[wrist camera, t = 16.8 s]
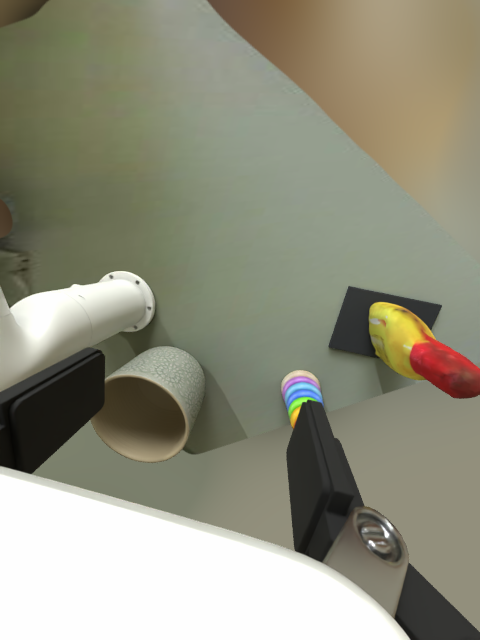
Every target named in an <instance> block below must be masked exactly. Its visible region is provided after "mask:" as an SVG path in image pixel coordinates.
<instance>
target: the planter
mask: <svg viewBox="0 0 480 640" xmlns="http://www.w3.org/2000/svg"><path fill="white" fill-rule="evenodd" d="M205 390H206V381H205V376H204V372H203V370H202V368H201V366H200V365H199V363H198V362H197V361H196V359H195V358H194V357H193V356H191V355H190V354H189V353H187V352H185V351H184V350H181V349H179V348H175V347H170V346H160V347H155V348H151V349H149V350H147V351H145V352H143V353H141V354H139V355H138V356H136V357H135V358H134V359H132V360H131V361H130V362H128V363H127V364H125V365H124V366H122V367H121V368H119V369H118V370H116V371H115V372H114V373H112V374H111V375H109V376H108V377H107V378H105V403H104V405H103V407H102V409H101V410H100V411H99V412H98V413H97V414H96V415H95V416H93V417H92V418H91V419H90V420H91V423H92V425H93V428H94V429H95V431H96V433H97V434H98V436H99V437H100V438H101V439H102V441H103V442H104V443H105V444H106V445H107V446H109V447H110V448H111V449H112V450H114V451H115V452H117V453H118V454H120V455H122V456H124V457H126V458H129V459H131V460H135V461H139V462H147V463H156V462H162V461H165V460H168V459H170V458H172V457H174V456H175V455H177V454H178V453H179V452H180V451H181V450H182V449H183V447H184V446H185V444H186V442H187V440H188V438H189V435H190V433H191V431H192V428H193V425H194V423H195V420H196V418H197V415H198V412H199V410H200V407H201V405H202V402H203V399H204V395H205Z"/></svg>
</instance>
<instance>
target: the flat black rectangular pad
mask: <svg viewBox="0 0 480 640" xmlns="http://www.w3.org/2000/svg"><path fill="white" fill-rule="evenodd" d="M377 302H385V303H390V304H395V305H398V306H401V307H404V308H406V309H407V310H409V311H410V312H412V313H413V314H415V315H416V316H417V317H418V318H420V319H421V320H422V321H423V322H424V323H425V324H426V325H427V327H428V328H429V329H430V330H431V328H432V326H433V324H434V321H435V319H436V317H437V315H438V313H439V311H440V309H441V307H442V305H439V304H434V303H429V302H424V301H419V300H414V299H409V298H404V297H399V296H394V295H389V294H384V293H379V292H374V291H369V290H364V289H359V288H354V287H350V286H349V287H348V290H347V293H346V296H345V299H344V302H343V305H342V308H341V311H340V314H339V317H338V320H337V322H336V325H335V328H334V331H333V334H332V337H331V340H330V343H329V347H331V348H335V349H340V350H344V351H349V352H353V353H358V354H363V355H367V356H372V357H376V358H380V357H379V356H377V355H376V354H375V353H376V349H375V348H374V346H373V344H372V341H371V336H370V333H369V310H370V307H371V306H372V305H373V304H374V303H377Z"/></svg>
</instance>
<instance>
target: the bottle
mask: <svg viewBox="0 0 480 640" xmlns="http://www.w3.org/2000/svg"><path fill="white" fill-rule="evenodd" d="M369 333H370V336H371V341H372V344H373V346H374V348H375V349H376V353H375V354H376V355H377V356H379V357H380V358H381V359H382V360H383V361H384V362H385V363H386V364H387V365H388V366H389V367H390V368H391V369H393V370H394V371H395V372H397V373H399V374H400V375H402V376H405V377H408V378H411V379H414V380H428V381H430V382H431V383H432V384H433V385H435V386H436V387H438V388H439V389H441V390H442V391H444V392H445V393H447V394H449V395H450V396H451V397H453V398H459V399H461V398H472V397H476V396H478V395H480V369H479V368H478V367H477V366H476V365H474V364H473V363H472V362H471V361H470V360H468V359H467V358H466V357H464V356H463V355H461V354H460V353H458V352H456V351H454V350H453V349H451V348H450V347H448V346H446V345H444V344H442V343H441V342H439V341H437V340H436V339H435V337H434V336H433V334H432V332H431V331H430V329H429V328H428V327H427V325H426V324H425V323H424V322H423V321H422V320H421V319H420V318H418V317H417V316H416V315H415V314H413V313H412V312H410V311H409V310H407V309H406V308H404V307H401V306H398V305H395V304H390V303H385V302H377V303H374V304H373V305H372V306H371V307H370V310H369Z"/></svg>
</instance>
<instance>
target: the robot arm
mask: <svg viewBox="0 0 480 640" xmlns="http://www.w3.org/2000/svg"><path fill="white" fill-rule="evenodd" d="M139 282H140V283H139ZM154 313H155V300H154V296H153V293H152V291H151V289H150V288H149V286H148V285H147V284H146V283H145V281H144V280H142V279H141V278H140V277H139V276H137V275H135V274H133V273H130V272H125V271H117V272H112V273H109V274H107V275H105V276H104V277H103V278H102V279H101V280H100V281H99V283H95V284H90V285H84V286H81V285H76V284H74V285H72V286H71V288H66V289H61V290H55V291H48V292H43V293H38V294H34V295H31V296H29V297H26V298H24V299H23V300H21V301H19V302H18V303H16V304H15V305H14V306H12V307H11V308H10V309H9V307H8V304H7V302H6V299H5V297H4V295H3V292H2V290H1V287H0V640H480V632H479V631H478V630H477V629H476V628H475V627H474V626H473V625H472V624H471V623H470V622H469V621H468V620H467V619H465V618H464V616H462V614H461V613H460V612H459V611H458V610H457V609H455V608H454V607H453V606H452V605H451V604H450V603H449V602H448V601H447V600H446V599H445V598H444V597H443V596H442V595H441V594H440V593H439V592H438V591H437V590H436V589H435V588H434V587H433V586H432V585H431V584H430V583H429V582H428V581H427V580H426V579H425V578H424V577H423V576H422V575H421V574H420V573H419V572H418V571H417V570H416V569H415V568H414V567H413V566H412V565H411V564H410V563H409V553H408V550H407V546H406V544H405V542H404V540H403V538H402V536H401V534H400V533H399V532H398V530H397V529H396V528H395V526H394V525H393V524H392V523H391V522H390V521H389V520H388V519H387V518H386V517H385V516H383V515H382V514H381V513H379V512H378V511H376V510H374V509H372V508H370V507H365V506H364V504H363V501H362V498H361V495H360V493H359V490H358V488H357V485H356V482H355V480H354V477H353V474H352V472H351V469H350V466H349V464H348V461H347V459H346V456H345V453H344V450H343V448H342V445H341V443H340V441H339V440H338V439H337V438H334V436H333V433H332V430H331V427H330V424H329V422H328V419H327V416H326V413H325V410H324V407H323V405H322V403H321V402H318V401H313V400H309V399H308V400H307V402H302V404H301V408H300V411H299V414H298V417H297V420H296V423H295V426H294V429H293V432H292V436H291V438H290V441H289V445H288V448H287V468H288V480H289V491H290V503H291V515H292V527H293V538H294V548H295V551H293V550H290V549H287V548H285V547H282V546H279V545H276V544H273V543H270V542H266V541H263V540H260V539H257V538H253V537H250V536H247V535H244V534H240V533H237V532H234V531H231V530H227V529H224V528H220V527H217V526H213V525H210V524H206V523H203V522H199V521H196V520H192V519H189V518H185V517H182V516H179V515H175V514H172V513H168V512H165V511H161V510H158V509H154V508H150V507H147V506H143V505H140V504H136V503H132V502H129V501H126V500H122V499H118V498H115V497H111V496H107V495H104V494H101V493H97V492H93V491H90V490H86V489H83V488H79V487H75V486H72V485H68V484H65V483H61V482H57V481H54V480H50V479H46V478H43V477H39V476H35V475H32V473H33V472H34V471H35V470H36V469H37V468H38V467H40V465H42V464H43V463H44V462H45V461H46V460H47V459H48V458H49V457H50V456H51V455H52V454H54V453H55V452H56V451H57V450H58V449H59V448H60V447H61V446H62V445H63V444H64V443H65V442H66V441H67V440H69V439H70V438H71V437H72V436H73V435H74V434H75V433H76V432H77V431H78V430H79V429H80V428H81V427H83V426H84V425H85V424H86V423H87V422H88V421H89V420H90V419H91V418H92V417H93V416H95V415H96V414H97V413H98V412H99V411H100V410H101V409H102V407H103V405H104V403H105V356H104V354H102V351H101V350H98V349H94V348H90V347H92V346H94V345H96V344H98V343H100V342H102V341H103V340H105V339H107V338H109V337H111V336H113V335H115V334H117V333H119V332H121V331H125V332H134V331H138V330H140V329H142V328H144V327H145V326H147V325H148V324H149V323H150V322H151V320H152V318H153V316H154Z"/></svg>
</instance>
